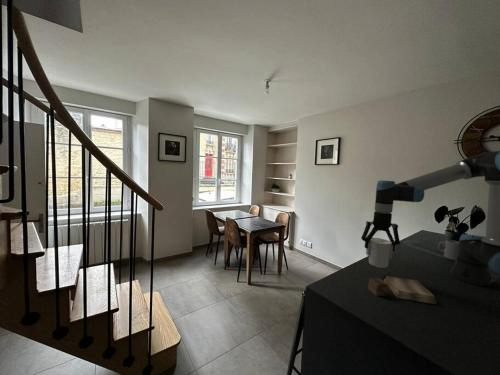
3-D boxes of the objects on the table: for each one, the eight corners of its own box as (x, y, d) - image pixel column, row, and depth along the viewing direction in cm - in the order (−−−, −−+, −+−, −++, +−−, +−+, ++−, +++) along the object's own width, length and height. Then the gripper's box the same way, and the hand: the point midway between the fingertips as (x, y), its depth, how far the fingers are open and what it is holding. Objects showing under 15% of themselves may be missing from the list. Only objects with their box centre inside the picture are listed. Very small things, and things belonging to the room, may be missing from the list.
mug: (461, 258, 143) (463, 242, 142) (461, 262, 137) (464, 245, 136) (437, 252, 151) (439, 237, 150) (436, 255, 145) (438, 239, 144)
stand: (417, 286, 102) (418, 280, 102) (435, 304, 88) (437, 297, 88) (384, 281, 105) (384, 275, 104) (397, 297, 91) (398, 290, 91)
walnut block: (378, 289, 97) (379, 278, 97) (386, 295, 92) (388, 284, 92) (367, 289, 96) (369, 278, 96) (375, 296, 91) (377, 284, 91)
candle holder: (393, 269, 104) (395, 245, 103) (370, 267, 106) (372, 242, 105) (384, 261, 114) (387, 238, 113) (364, 259, 116) (366, 236, 115)
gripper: (404, 212, 109) (399, 255, 111) (356, 208, 114) (352, 250, 116) (412, 215, 102) (407, 261, 104) (360, 211, 107) (356, 255, 108)
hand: (378, 255), depth 110 cm, fingers closed on candle holder, 9 cm apart
